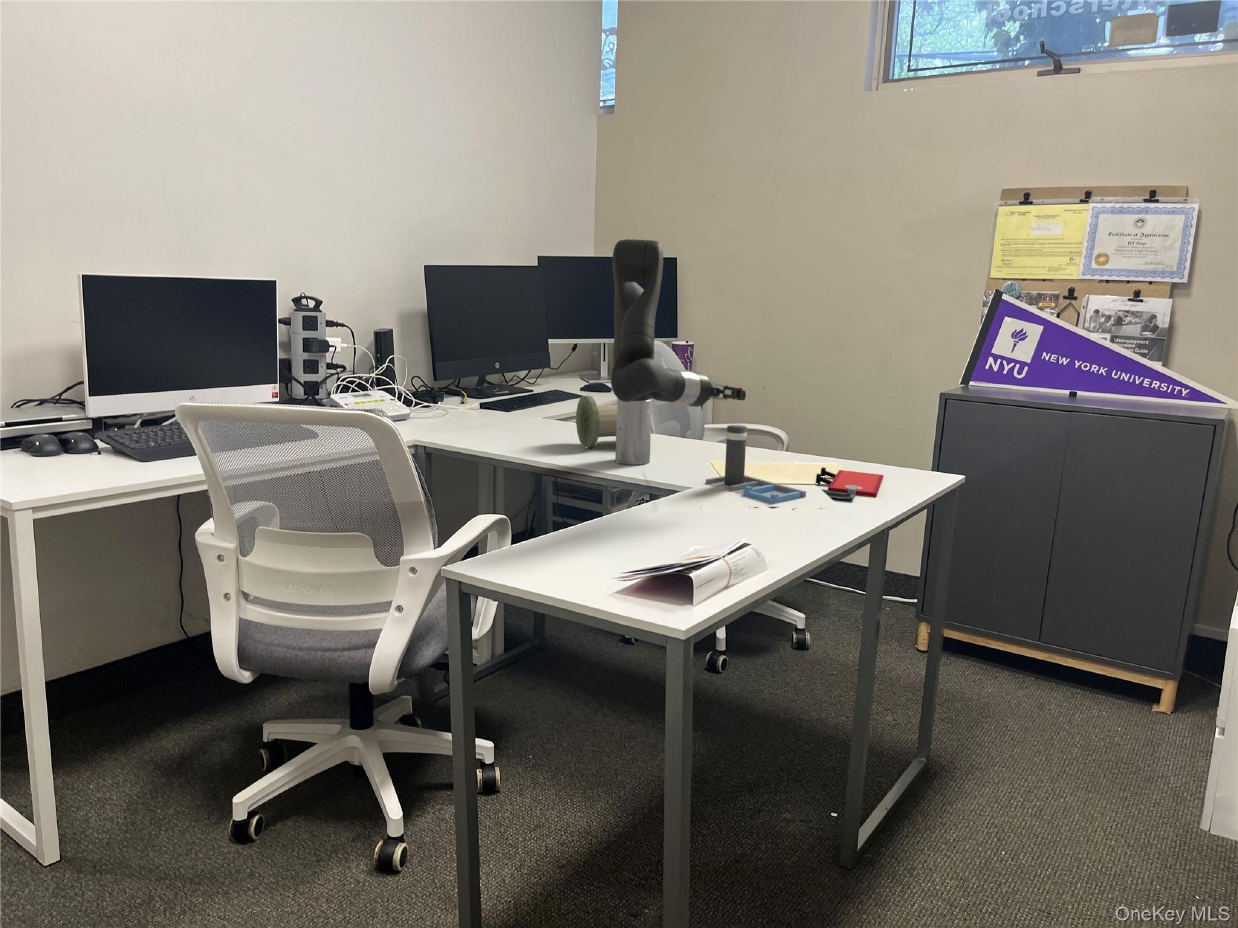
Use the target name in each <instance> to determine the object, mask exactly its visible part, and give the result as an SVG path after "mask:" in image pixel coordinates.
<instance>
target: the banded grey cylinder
mask: <svg viewBox="0 0 1238 928" xmlns="http://www.w3.org/2000/svg"><path fill="white" fill-rule="evenodd" d="M747 431H748V430H747V426H746V425H741V424H731V425H730V424H729V425H727V426H726V443H725V444H726V445H725V464H724V465H725V467H724V476H725V483H724V484H725V485H727V486H732V485H737V484H743V483H744V475H745V469H746V468H745V466H746V449H747V448H746V447H747V436H748V435H747V434H748V433H747Z"/></svg>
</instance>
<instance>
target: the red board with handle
mask: <svg viewBox="0 0 1238 928" xmlns="http://www.w3.org/2000/svg"><path fill="white" fill-rule="evenodd" d="M815 476H816V477H815V484H816V483H818V484H820V485H821V483H823V484H826V485H828V487H827V489H820V490H821V491H822V492H823V493H824V494H825V495H827V496H828V498H836V499H844V500H852V501H853V500H854V498H855V496H862V497H871V498H877V495H878V494H879V490H880V488H881V485H882V482H883V480H884V474H880V473H879V474H878V473H869V472H861V471H853V470H852V471H851V470H842V469H839V470H838V471H837V473H833V472H831V471H828V470H827V468H826V467H824V466H823V467H821V469H820V473H817V474H816V475H815ZM821 476H825V477H824V478H823V477H821ZM829 476H830V477H829ZM826 477H829V478H831V477H834V478H832V480H830V479H829V478H826Z"/></svg>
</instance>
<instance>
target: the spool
mask: <svg viewBox="0 0 1238 928" xmlns="http://www.w3.org/2000/svg"><path fill="white" fill-rule="evenodd" d="M576 405H577V406H576V413H575V425H576V432H577V436H578V439H579V440H578V441H579V442H580V445H581V446H582V445H584V446H585V447H587V448H586V449H592V448H594V447H595V446H596V445H597V442H598V440H599V438H604V437H605V438H608V437H610V438H611V437H616V425H617V404H607V405H597V402H596V400H595V399H594V397H593V396H591V395H588V394H587V395H586V394H585V395H582V396H581V397H579V400H578V402H577V404H576ZM585 447H584V448H585Z"/></svg>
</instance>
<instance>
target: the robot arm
mask: <svg viewBox="0 0 1238 928" xmlns="http://www.w3.org/2000/svg"><path fill="white" fill-rule="evenodd" d="M663 267H664V251H663V246H662V243H660V242H659V241H657V240H652V239H632V238H631V239H621V240H619V241H617V242H616V244H615V245H614V248H613V252H612V272H613V284H614V301H613V302H614V303H613V323H614V339H613V348H612V349H613V350H612V364H613V368H612V372H611V377H610V385H611V388H612V392H613V394H614V396H615V397H616V398H617V400H616V401H617V402H616V403H617V404H616V405H617V425H616V436H615V457H614V458H615V463H616V462H618V463H617V464H622V463H623V465H646V464H649V463H650V462H651V434H652V433H651V432H652V406H653V404H652V403H653V402H652V401H653V399H654V400H656V401H660V402H666V403H672V404H673V405H679V406H680V405H681V406H686V407H694V408H698V407H702V406H704V405H705V404H706V403H707V402H708V401H721V402H722V401H727V400H728V399H729V400H733V401H735V400H737V401H745V400H746V396H747V393H746V390H744V389H743V388H742V387H732V386H729V385H726V384H720V383H719V384H717V382H711V381H710V379H709V377H707V375H706V374H704V373H701V372H696V371H691V370H687V369H686V370H685V369H675V368H674V369H673V368H667V367H665V366H663V365H662V364H660V363H659V362H657V360H655V327H656V316H657V309H658V304H659V300H660V299H659V298H660V293H661V292H660V291H661V284H662V279H663V269H664V268H663ZM638 283H644V284H646V285H645V288H644V289H643V288H642V286H640V285H639V284H638ZM721 388H722V389H721ZM721 395H722V397H720V396H721Z"/></svg>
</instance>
